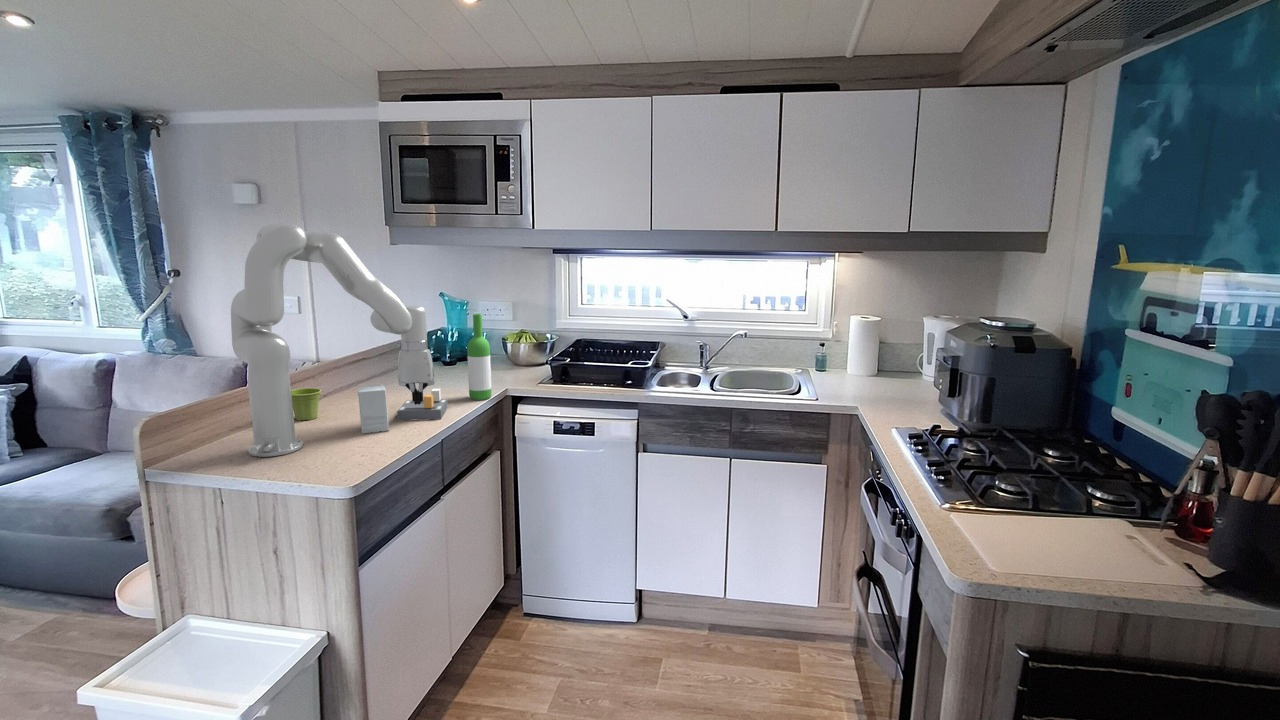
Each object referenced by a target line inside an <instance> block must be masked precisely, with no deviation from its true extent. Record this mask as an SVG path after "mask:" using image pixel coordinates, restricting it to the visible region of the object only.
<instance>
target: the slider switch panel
mask: <svg viewBox="0 0 1280 720" xmlns="http://www.w3.org/2000/svg"><path fill="white" fill-rule="evenodd" d="M433 402H434V406H433V407H432V408H424V399H423V401H422V402H421V404H419V405H418V404H416V405H415V404H414V401H412V399H409V400H408V399H407V400H405V401H404V403H403V404H402V405H401V406H399V408H398V410H397V411H396V412H397V413H396V414H397V421H412V420H411V419H429V420H442V418H443V417H444V415H445V414H446V412H447V410H448V408H449V407H448V398H447V399H441V400H440V401H433Z"/></svg>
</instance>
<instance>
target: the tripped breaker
mask: <svg viewBox="0 0 1280 720" xmlns="http://www.w3.org/2000/svg"><path fill="white" fill-rule="evenodd" d="M423 400H424V408H432V407H433V406H434V402H433V395H432V394H424V395H423Z"/></svg>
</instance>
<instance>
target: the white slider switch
mask: <svg viewBox="0 0 1280 720" xmlns="http://www.w3.org/2000/svg"><path fill="white" fill-rule="evenodd" d="M430 395H433V401H440V400H442V391H441V388H432V389H431V394H430Z"/></svg>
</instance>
